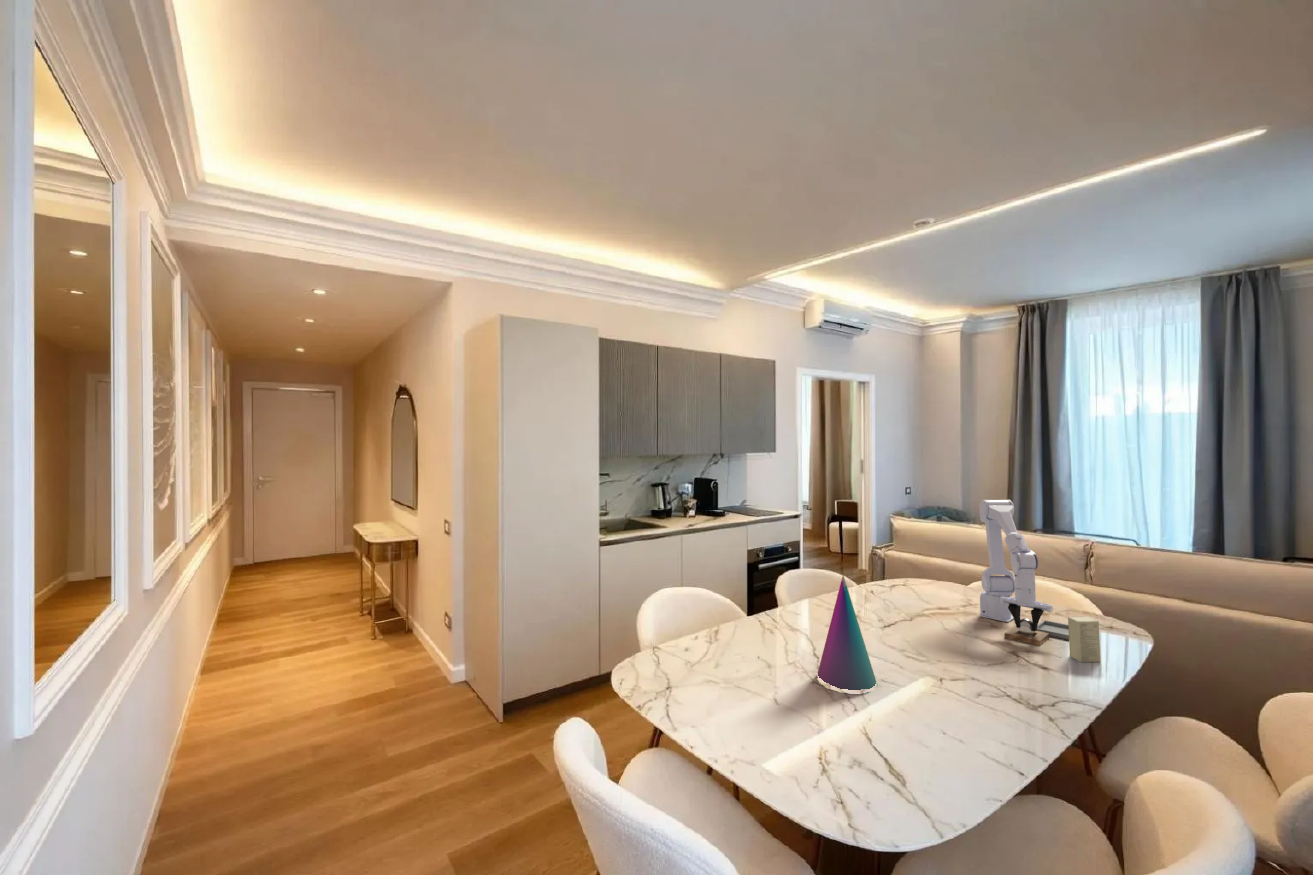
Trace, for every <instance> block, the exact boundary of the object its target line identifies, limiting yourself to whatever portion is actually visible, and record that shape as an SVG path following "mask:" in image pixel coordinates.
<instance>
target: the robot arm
mask: <svg viewBox="0 0 1313 875" xmlns="http://www.w3.org/2000/svg"><path fill="white" fill-rule="evenodd" d="M978 511H979V518H980V521H981V522H982V523H984V524H985V525H984V526H985V534H986V542H987V543H986V544H987V555H988V563H989V566H988V567H987V568H986V569H984V570H983V571H982V572H981V588H982V589H983V591H981V593H980V595H979V613H980V614H979V617H982V618H986V619H989V620H990V619H992V620H996V621H1000V622H1005V623H1010V622H1011V621H1012V620H1013V621H1014V623H1015V626H1016V627H1017V628H1019V622H1020V620H1021V607H1023V608H1029V609H1031V610H1030V614H1031V621H1032V630H1033V631H1036V630H1037V626H1038V624H1039V623H1040V622H1039V621H1040V619H1041V617H1042V615H1043V614H1044V612H1045V611H1046V612H1047V613H1052V612H1054V608H1053V604H1048V603H1044V602H1040V601H1037V599H1036V598H1037V595H1036V594H1037V593H1036V592H1037V591H1036V571H1035V570H1038V568H1039V558H1038V556H1037V554H1036V552H1034V551H1033V550H1032V549H1030V548H1029V545H1028V544H1027V542H1026V539H1025V538H1024V536H1023V534H1021V533H1019V532H1018V530H1017V527H1016V524H1015V521H1014V518H1013V517H1014V513H1015V505H1014V502H1013V501H1011V499H982V500H981V501H980V502H979V505H978ZM1002 531H1003V533H1004V534H1005V535H1006V536H1005V537H1004V542H1005V544H1006V548H1007V550H1008V551H1009V554H1010V559H1009V561H1010V564H1011V570H1012V571H1011V570H1009V569H1007V568H1006V563H1005V556H1004V555H1005V553H1004V545H1003V537H1002V536H1003V535H1002V534H1003V533H1002ZM1013 594H1014V597H1012V596H1013Z"/></svg>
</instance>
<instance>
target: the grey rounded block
mask: <svg viewBox="0 0 1313 875" xmlns="http://www.w3.org/2000/svg"><path fill="white" fill-rule="evenodd" d="M1019 634H1022V635H1026V636H1031V637H1034V631H1033V630H1032V619H1029V618H1020V622H1019Z"/></svg>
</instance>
